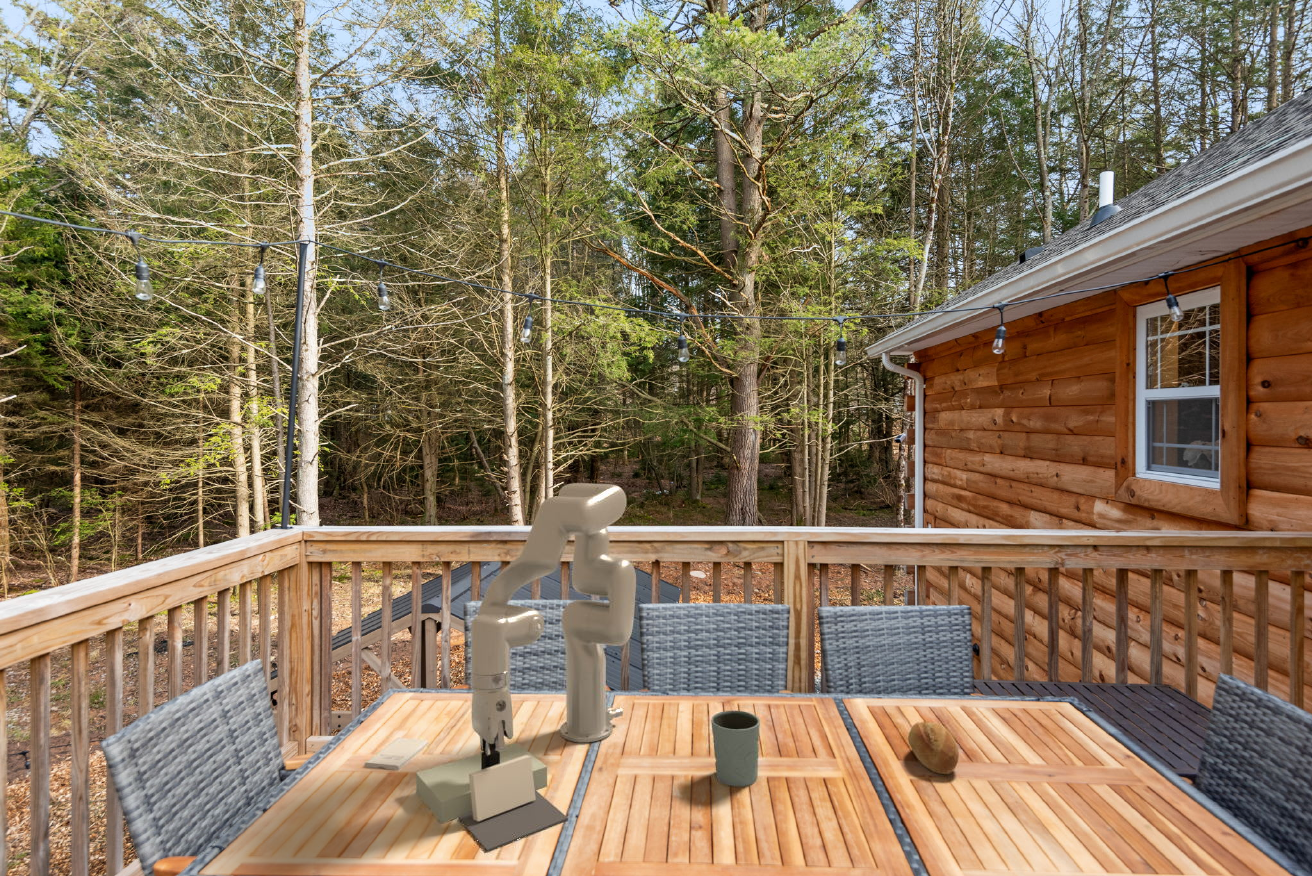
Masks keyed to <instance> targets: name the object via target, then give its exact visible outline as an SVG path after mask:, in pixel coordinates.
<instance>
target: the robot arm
mask: <svg viewBox="0 0 1312 876" xmlns="http://www.w3.org/2000/svg"><path fill="white" fill-rule="evenodd" d="M626 508H627V494H626V493H625V492H624V490H623V488H621V487H620V486H619V485H617V484H611V483H610V484H609V483H607V484H606V483H588V482H587V483H586V482H585V483H584V482H576V483H575V482H574V483H568V484H565V485H563V486H562V487H560V489H559V491H558V495H557V496H552V497H548V498H546V499H545V500H544V501H543V502H542V503H541V504H540V507H539V509H538V511H537V513H536V516H535V518H534V522H533V524H532V526H531V529H530V531H529V533H528V536H527V539H526V541H525V544H524V546H523V549H522V551H521V553H520V555H519V556H518V557H517V558H516V559H514V560H513V561H512V562H511V563H509V564H508V565H507V566H505V568H504V569H502V571H500V573H499V574H497V575H496V577H494V578H493V580H492V581H491V583H490V584H489V585H488V588H487V589H486V592H485V594H484V597H483V599H482V602H481V604H480V606H479V609H478V613H477V616H475V617H474V618H473V619H472V621H471V623H470V624H471V625H470V689H471V690H472V698H471V728H472V730H473V731H474V732H475V733H476V734H477V735H478V736H479V745H480V746H479V747H480V751H481V770H483V769H486V768H489V767H492V766H495V765H498V764H500V752H501V750H504V749H505V746H506V744H505V743H506V742H505V738H507V739H508V740H511V739H513V737H514V717H513V715H514V714H513V703H512V695H511V689H510V686H511V650H512V648H513V649H514V648H518V647H524V646H529V645H532V644H533V643H535V642H537V641H538V639H540V637H542V635H543V632H544V629H545V619H544V616H543V615H542V613H540V611H539V610H538V609H537V610H536V609H535V608H531V607H528V606H527V607H526V606H520V605H513V604H509V602H510V600H511V598H512V597H513V595H514V594H515V593H516V592H517V591H518V590H519V589H521V588H522V587H523V586H525V585H527V584H529V583H531V582H533V581H535V580H538V579H541V578H544V577H545V576H548V575H551V574H553V573H554V572H555V571H556V570H557V569H558V567H559V566H560V563H561V559H562V557H563V554H564V551H565V549H566V546H567V543H568V541H569V537H571V536H574V545H573V546H574V547H573V556H572V557H573V558H572V570H571V583H572V584H571V585H572V587H573V589H574V591H576V592H577V593H580V594H582V595H587V596H596V597H604V598H605V597H606V598H608V602H602V601H597V600H596V601H595V600H587V599H577V600H574V601H571V602H569V603H568V604H567V605H566V606H565V608H564V609H563V611H562V614H561V628H562V634H563V640H564V645H565V646H564V647H565V660H566V661H565V668H566V669H565V675H566V677H565V679H566V680H565V682H566V685H565V689H566V702H565V703H566V721H565V722H563V723H562V724H561V725H560V727H559V728H560V729H559V733H560V735H561V737H562V738H564V739H565V740H567V741H569V742H570V741H571V742H575V743H592V742H598V741H601V740H604V739H606V738H607V737H609V736H610V735H611V734H612V733H613V728H614V727H613V724H612V722H611V721H612V720H613V719H615V718H619V717H623V715H624V712H623V709H622V708H621V707H618V708H615V709H613V707H611V706H609V707H607V686H606V685H607V682H606V679H607V675H606V674H607V673H606V672H607V670H606V667H607V661H606V660H607V659H606V654H605V651H604V649H603V646H602V645H606V646H614V647H615V646H617V647H620V646H623V645H625V644H626V643H627V642H628V641H629V640H630V638H631V636H632V632H633V629H634V628H633V627H634V618H635V605H636V604H635V603H636V594H637V592H636V589H637V575H636V570H635V567H634V565H633V563H632V562H631V561H630V560H628V559H626V558H625V557H624V558H623V557H618V556H617V557H616V556H610V534H609V530H608V528H607V527H609V526H610V525H612V524H614V523H615V522H617V521H618V520H619V519H620V518H621V517H622V516H623V514H624V513H625V510H626Z"/></svg>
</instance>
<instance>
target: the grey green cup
mask: <svg viewBox="0 0 1312 876" xmlns="http://www.w3.org/2000/svg"><path fill="white" fill-rule="evenodd" d="M710 721H711V722H710V723H711V732H712V736H713V737H712V741H713V750H714V752H713V753H714V757H715V761H714V763H715V764H714V765H715V772H716V773H715V775H716V778H717V780H718V781H719V782H720V783H722V784H724V785H726V786H729V787H733V788H734V787H737V788H740V787H748V786H752V785H753V784H755V783H756V781H757V780H758V774H759V772H758V771H759V755H760V754H759V752H760V751H759V749H760V747H759V746H760V745H759V741H760V738H759V736H760V725H761V724H760V722H761V721H760V719H759V717H758V716H757V715H755V714H753V713H751V712H749V711H743V710H724V711H721V712H718V713H715V714H714V715H713V716H712V717H711V720H710Z"/></svg>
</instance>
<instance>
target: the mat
mask: <svg viewBox="0 0 1312 876" xmlns="http://www.w3.org/2000/svg"><path fill="white" fill-rule="evenodd" d="M535 797H536V800H533V801H531V802H528V803H525V804H523V805H520V806H518V807H515V808H512V809H510V810H507V811H504V812H502V813H499V814H497V815H494V816H491V817H489V818H486V819H483V820H481V821H475V820H473V812H471V813H468V814H465V815H463V816H460V817H458V818H457V819H458V821H460V823H461V824H462V825H463V826H464V828H466V830H467V831H468V830H469V831H470V832H469V831H468V832H469V833H470V834H471V835H472V836H473V838H476V839H475V840H476V841H477V840H478V841H477V842H478V843H479V845H480V846H482V848H483V849H484V850H485V851H486V852H487V853H489V852H492V851H494V850H496V849H499V848H501V847H503V845H504V846H506V845H509V844H511V843H510V842H512V843H514V842H516V841H515V840H517V839H519V838H522V837H524V838H526V837H525V836H527V835H529V836H532V835H534V834H537V833H540V832H541V831H545V830H547V829H549V828H551V827H554V826H557V825H559V824H562V823H564V822H567V821H569V817H568V816H566V814H564V813H563V812H562V811H561V810H560V809H559V808H557V807H556V806H555V805H554V804H552V803H551V801H549V800H548V799H547V798H545V797H544V795H542V794H541V793H540V792H539V791H537V790H535ZM536 832H537V833H536ZM527 837H528V836H527ZM522 839H523V838H522ZM519 840H520V839H519ZM513 841H514V842H513ZM517 841H518V840H517ZM498 847H499V848H498Z"/></svg>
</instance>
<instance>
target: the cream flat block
mask: <svg viewBox="0 0 1312 876" xmlns="http://www.w3.org/2000/svg"><path fill="white" fill-rule="evenodd" d="M469 781H470V791H471V801H472V811H473V820H475V821H481V820H483V819H486V818H489V817H491V816H494V815H497V814H499V813H502V812H504V811H507V810H510V809H512V808H515V807H518V806H520V805H523V804H525V803H528V802H531V801H533V800H536V797H535V789H534V780H533V771H532V763H531V756H528V755H525V756H522V757H519V758H516V759H513V760H510V761H507V762H504V763H501V764H498V765H495V766H492V767H489V768H486V769H483V770H480V771H477V772H474V773H471V774H469Z"/></svg>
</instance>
